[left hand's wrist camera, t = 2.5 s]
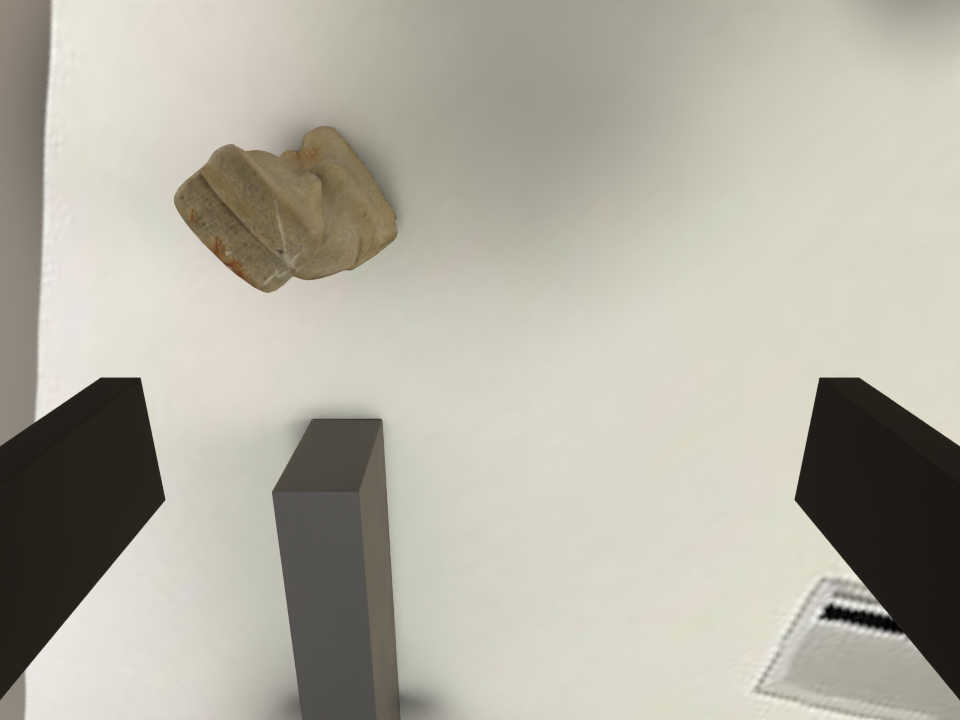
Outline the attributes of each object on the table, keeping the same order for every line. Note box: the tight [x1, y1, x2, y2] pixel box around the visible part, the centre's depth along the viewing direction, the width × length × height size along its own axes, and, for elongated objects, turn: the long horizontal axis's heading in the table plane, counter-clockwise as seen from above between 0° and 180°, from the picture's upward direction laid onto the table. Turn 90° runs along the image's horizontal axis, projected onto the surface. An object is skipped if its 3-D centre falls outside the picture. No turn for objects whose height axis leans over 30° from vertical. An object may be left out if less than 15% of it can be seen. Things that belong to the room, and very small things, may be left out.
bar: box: [272, 420, 400, 720], centre depth 43 cm, size 28×5×9 cm, turn 0°
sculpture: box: [174, 126, 397, 293], centre depth 30 cm, size 6×7×15 cm
